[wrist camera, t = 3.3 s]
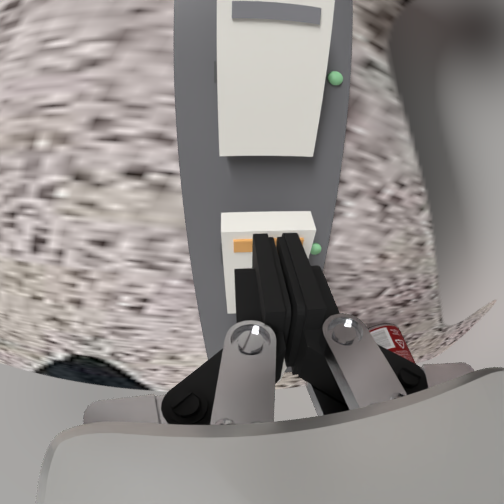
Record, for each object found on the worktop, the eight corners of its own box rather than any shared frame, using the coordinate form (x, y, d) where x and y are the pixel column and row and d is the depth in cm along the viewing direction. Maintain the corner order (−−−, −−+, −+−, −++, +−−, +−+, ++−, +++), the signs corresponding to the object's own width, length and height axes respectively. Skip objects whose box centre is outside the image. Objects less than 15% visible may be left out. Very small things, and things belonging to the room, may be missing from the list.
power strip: (191, -64, 7) (181, -97, 4) (324, -57, 8) (350, -85, 4) (212, 342, 27) (211, 381, 23) (291, 338, 28) (298, 376, 24)
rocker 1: (218, -8, 7) (216, -10, 6) (324, 0, 7) (336, 0, 6) (220, 143, 12) (219, 157, 11) (306, 143, 12) (313, 158, 11)
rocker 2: (221, 212, 12) (220, 234, 11) (310, 211, 13) (317, 232, 12) (227, 296, 18) (227, 315, 17) (290, 294, 18) (293, 312, 17)
